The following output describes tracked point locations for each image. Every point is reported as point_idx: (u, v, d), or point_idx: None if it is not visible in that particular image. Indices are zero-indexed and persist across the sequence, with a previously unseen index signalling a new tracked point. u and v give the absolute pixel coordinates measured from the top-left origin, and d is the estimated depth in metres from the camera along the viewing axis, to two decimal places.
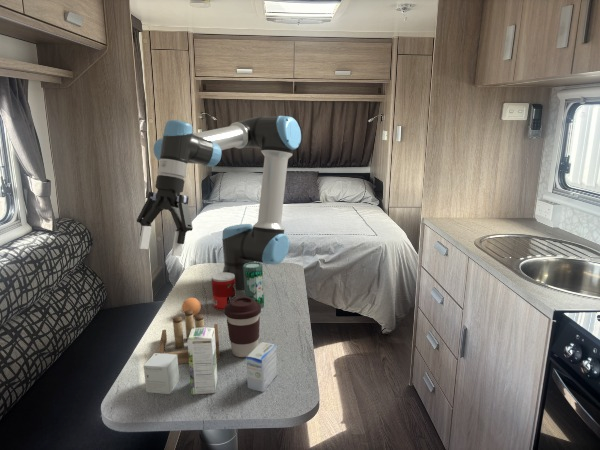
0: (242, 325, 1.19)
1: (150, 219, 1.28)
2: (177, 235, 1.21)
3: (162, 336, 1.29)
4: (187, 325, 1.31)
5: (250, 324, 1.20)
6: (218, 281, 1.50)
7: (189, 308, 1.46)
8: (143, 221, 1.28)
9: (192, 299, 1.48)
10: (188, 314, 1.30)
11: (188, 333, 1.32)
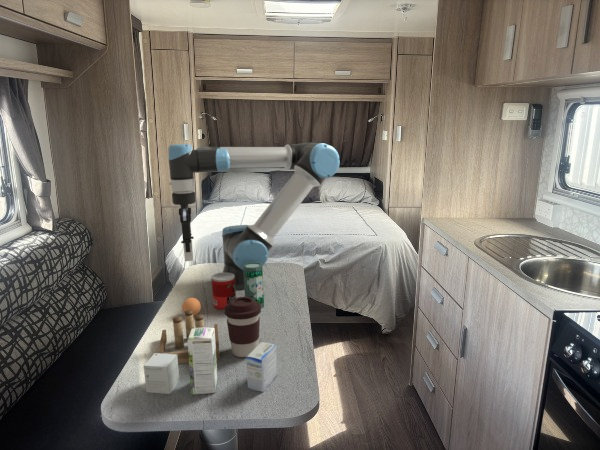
0: (242, 325, 1.19)
1: None
2: (184, 245, 1.51)
3: (162, 336, 1.29)
4: (187, 325, 1.31)
5: (250, 324, 1.20)
6: (218, 281, 1.50)
7: (189, 308, 1.46)
8: None
9: (192, 299, 1.48)
10: (188, 314, 1.30)
11: (188, 333, 1.32)
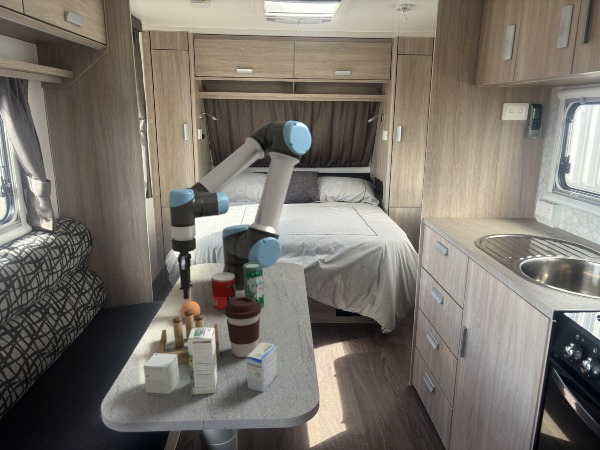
0: (242, 325, 1.19)
1: None
2: (182, 292, 1.47)
3: (162, 336, 1.29)
4: (187, 325, 1.31)
5: (250, 324, 1.20)
6: (218, 281, 1.50)
7: None
8: None
9: (191, 308, 1.43)
10: (188, 314, 1.30)
11: (188, 333, 1.32)
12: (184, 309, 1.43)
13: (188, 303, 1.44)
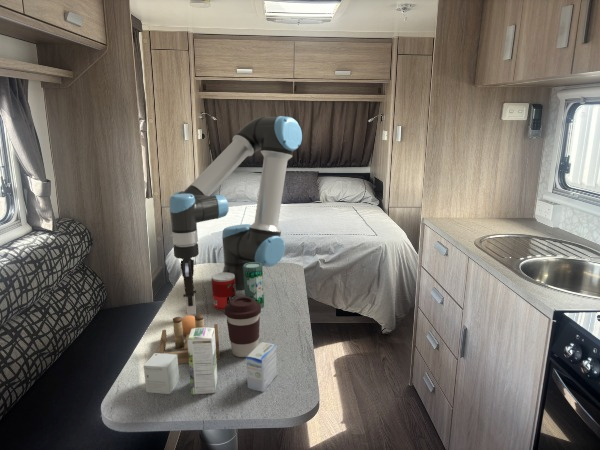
0: (242, 325, 1.19)
1: None
2: (186, 299, 1.44)
3: (162, 336, 1.29)
4: None
5: (250, 324, 1.20)
6: (218, 281, 1.50)
7: None
8: None
9: None
10: None
11: None
12: None
13: None
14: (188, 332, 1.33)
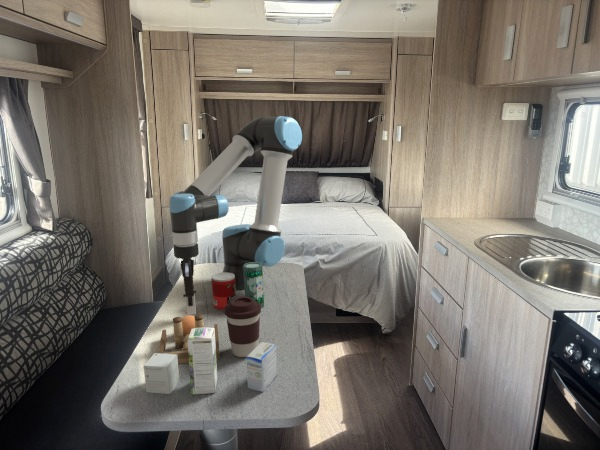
0: (242, 325, 1.19)
1: None
2: (186, 299, 1.44)
3: (162, 336, 1.29)
4: None
5: (250, 324, 1.20)
6: (218, 281, 1.50)
7: None
8: None
9: None
10: None
11: None
12: None
13: None
14: (188, 332, 1.33)
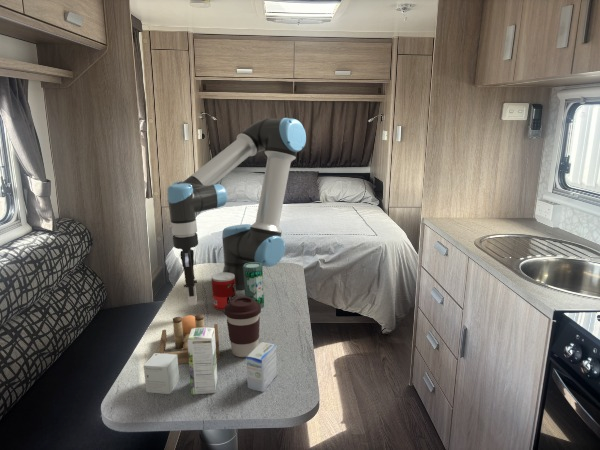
0: (242, 325, 1.19)
1: None
2: (187, 289, 1.44)
3: (162, 336, 1.29)
4: None
5: (250, 324, 1.20)
6: (218, 281, 1.50)
7: None
8: None
9: None
10: None
11: None
12: None
13: None
14: (188, 332, 1.33)
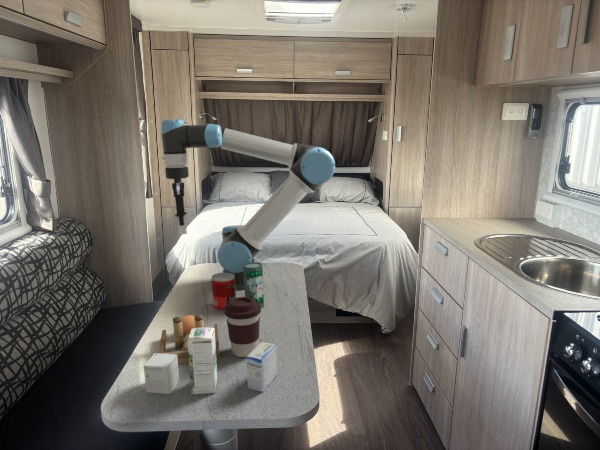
0: (242, 325, 1.19)
1: None
2: (178, 219, 1.56)
3: (162, 336, 1.29)
4: None
5: (250, 324, 1.20)
6: (218, 281, 1.50)
7: None
8: None
9: None
10: None
11: None
12: None
13: None
14: (188, 332, 1.33)
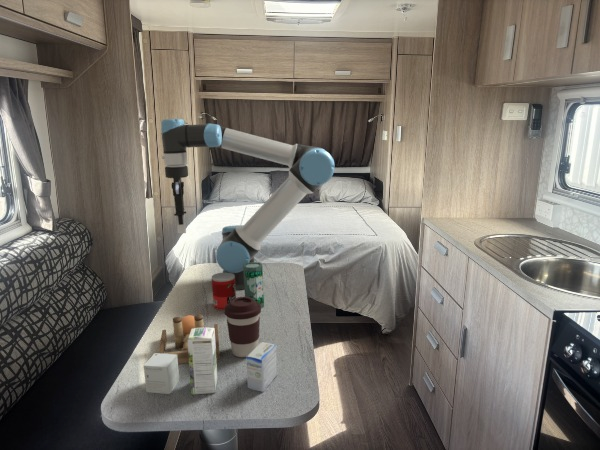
0: (242, 325, 1.19)
1: None
2: (177, 218, 1.56)
3: (162, 336, 1.29)
4: None
5: (250, 324, 1.20)
6: (218, 281, 1.50)
7: None
8: None
9: None
10: None
11: None
12: None
13: None
14: (188, 332, 1.33)
